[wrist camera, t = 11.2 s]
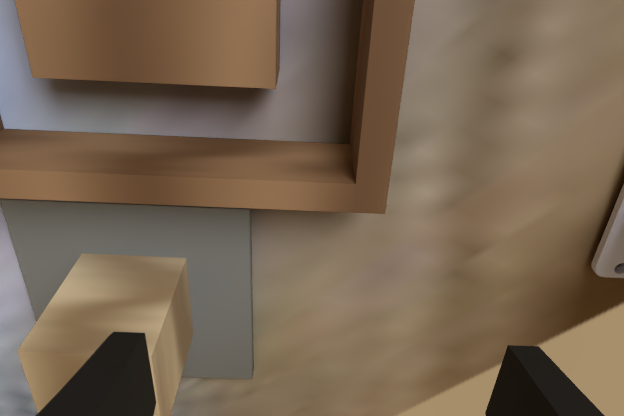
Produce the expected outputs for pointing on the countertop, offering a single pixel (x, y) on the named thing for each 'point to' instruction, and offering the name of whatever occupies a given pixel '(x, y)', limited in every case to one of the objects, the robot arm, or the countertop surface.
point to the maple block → (112, 322)
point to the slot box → (209, 72)
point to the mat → (157, 243)
